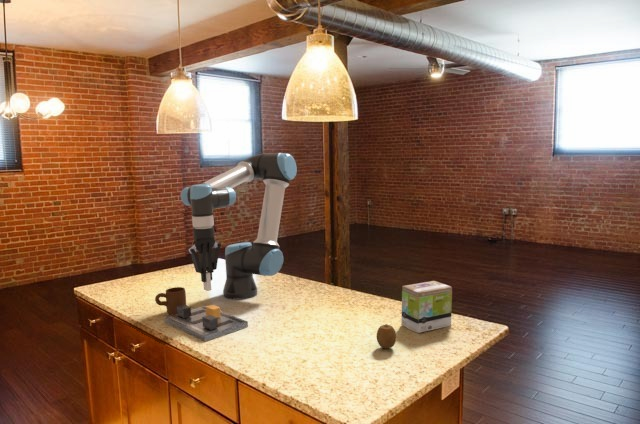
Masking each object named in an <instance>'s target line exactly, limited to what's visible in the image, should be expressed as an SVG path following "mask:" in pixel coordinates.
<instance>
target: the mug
mask: <svg viewBox="0 0 640 424" xmlns="http://www.w3.org/2000/svg"><path fill="white" fill-rule="evenodd" d="M160 298H165V300H161V299H160ZM154 300H155V303H156V305H158V306H163V307H166V313H167V314H168V316H170V315H174V314H177V306H180V305H183V304H184V305H187V295H186V289H185V288H184V287H183V286H182V287H181V286H180V287H179V286H177V287H176V286H175V287H170V288H167V289H166V290H165V293H164V292H160V293H157V294H156V295H155V299H154Z"/></svg>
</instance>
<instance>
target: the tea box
mask: <svg viewBox="0 0 640 424" xmlns="http://www.w3.org/2000/svg"><path fill="white" fill-rule="evenodd" d="M401 287H402V288H401V289H402V290H401V320H400V321H401V325H402V326H403V327H405V328H407V329H409V330H411V331H413V332H414V333H417V334H421V333H423V332H424V333H425V332H427V331H428V332H429V331H431V330H437V329H442V328H447V327H448V328H449V327H451V326H452V314H453V313H452V308H453V307H452V304H453V303H452V302H453V287H452V286H451V285H448V284H445V283H442V282H439V281H436V280H430V281H424V282H419V283H413V284H407V285H402V286H401Z"/></svg>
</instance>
